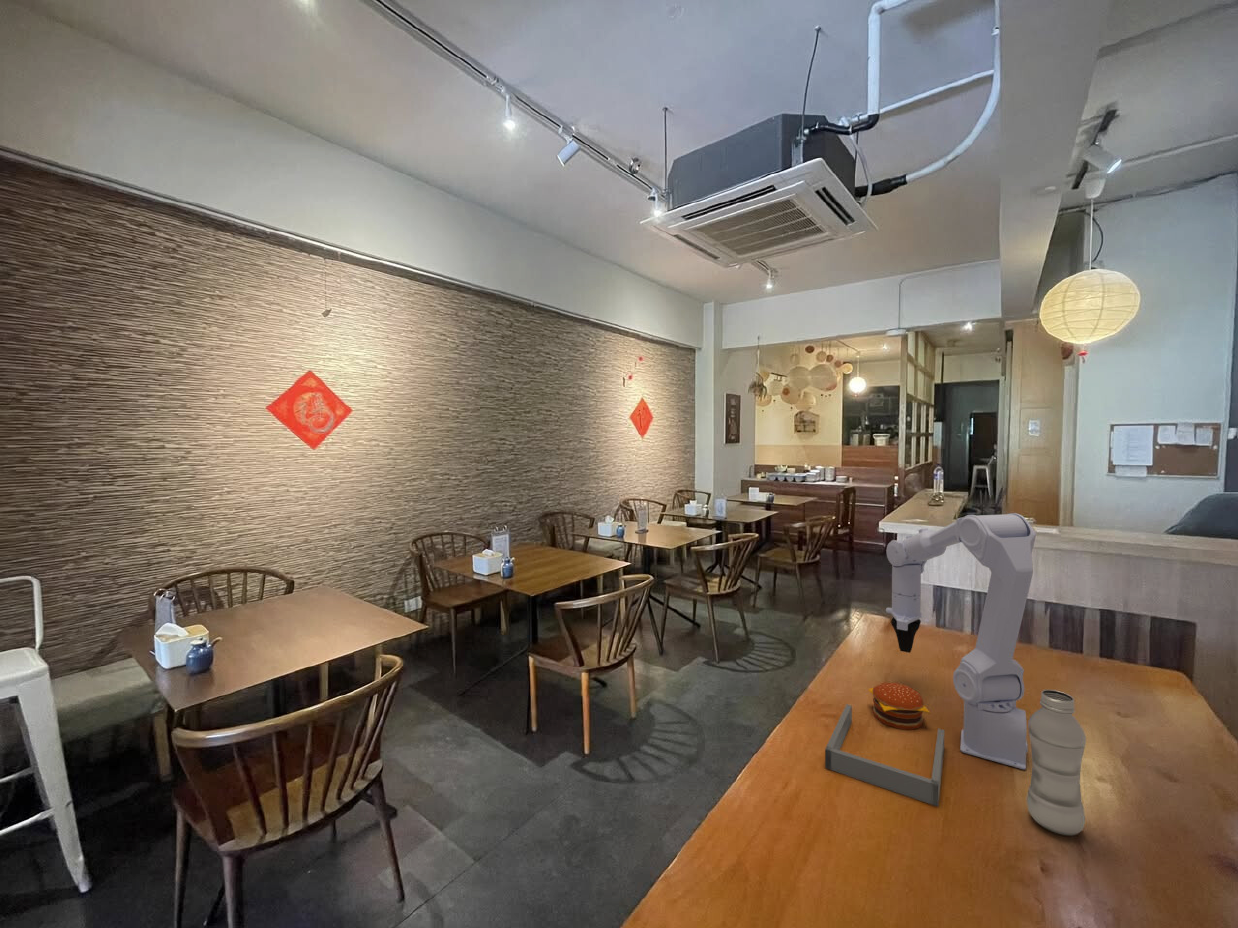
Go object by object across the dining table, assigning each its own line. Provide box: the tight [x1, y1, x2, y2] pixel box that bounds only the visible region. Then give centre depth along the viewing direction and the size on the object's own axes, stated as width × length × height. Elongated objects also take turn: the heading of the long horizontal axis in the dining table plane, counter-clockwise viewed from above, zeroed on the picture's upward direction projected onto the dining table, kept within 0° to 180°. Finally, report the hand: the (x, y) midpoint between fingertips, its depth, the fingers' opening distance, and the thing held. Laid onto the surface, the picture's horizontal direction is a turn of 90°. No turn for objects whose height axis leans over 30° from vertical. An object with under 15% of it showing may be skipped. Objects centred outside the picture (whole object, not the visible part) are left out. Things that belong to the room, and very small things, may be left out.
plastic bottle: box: [1026, 689, 1087, 837], centre depth 75 cm, size 6×7×20 cm
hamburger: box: [867, 682, 931, 731], centre depth 105 cm, size 9×10×7 cm
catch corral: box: [824, 703, 945, 807], centre depth 92 cm, size 17×18×4 cm
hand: (905, 650), depth 116 cm, fingers closed
